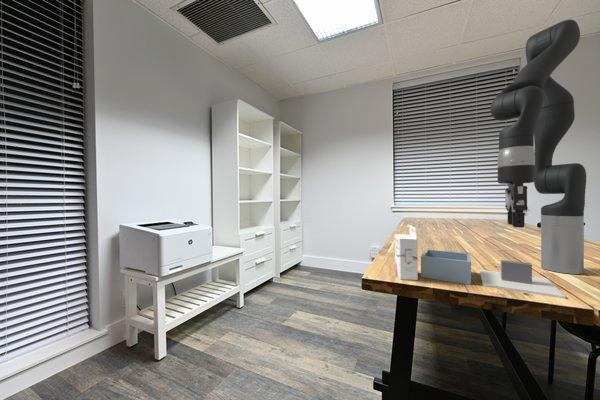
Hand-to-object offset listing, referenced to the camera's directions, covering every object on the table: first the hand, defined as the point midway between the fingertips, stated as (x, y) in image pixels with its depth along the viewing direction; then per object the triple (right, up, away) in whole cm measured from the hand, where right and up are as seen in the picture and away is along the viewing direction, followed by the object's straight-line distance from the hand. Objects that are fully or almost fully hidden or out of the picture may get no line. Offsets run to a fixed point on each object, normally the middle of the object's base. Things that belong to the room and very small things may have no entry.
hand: (515, 225), depth 66 cm
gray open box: (-14, -15, +7) cm, 22 cm away
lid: (0, -16, 0) cm, 16 cm away
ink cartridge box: (-26, -16, +7) cm, 32 cm away
